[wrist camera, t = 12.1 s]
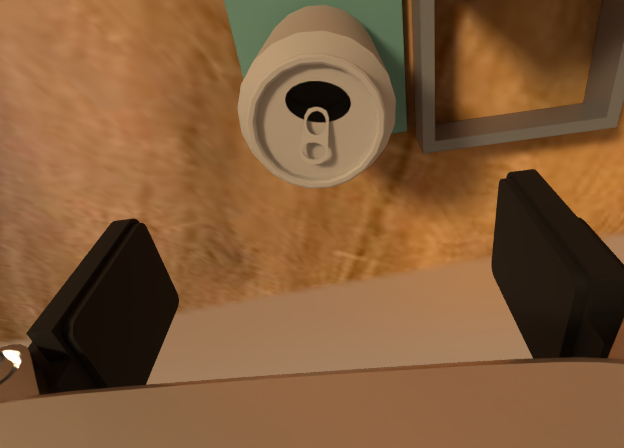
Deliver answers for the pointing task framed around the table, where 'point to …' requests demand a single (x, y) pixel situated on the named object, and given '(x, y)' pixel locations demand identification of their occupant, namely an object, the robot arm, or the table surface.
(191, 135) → the table surface
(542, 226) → the robot arm
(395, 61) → the mat
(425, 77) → the grey open box
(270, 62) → the can
